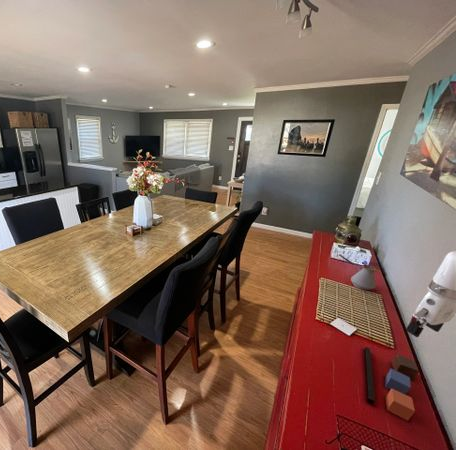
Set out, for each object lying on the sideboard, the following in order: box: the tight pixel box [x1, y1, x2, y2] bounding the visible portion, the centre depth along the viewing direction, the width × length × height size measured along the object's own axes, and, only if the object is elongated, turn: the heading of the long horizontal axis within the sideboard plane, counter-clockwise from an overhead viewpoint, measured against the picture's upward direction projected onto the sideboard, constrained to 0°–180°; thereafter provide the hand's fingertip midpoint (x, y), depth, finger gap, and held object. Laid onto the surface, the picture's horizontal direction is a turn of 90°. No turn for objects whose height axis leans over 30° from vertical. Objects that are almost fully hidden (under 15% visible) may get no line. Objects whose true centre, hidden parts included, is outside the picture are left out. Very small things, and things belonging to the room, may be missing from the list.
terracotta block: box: [385, 388, 416, 422], centre depth 78 cm, size 5×5×5 cm
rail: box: [363, 346, 375, 406], centre depth 89 cm, size 2×26×2 cm, turn 143°
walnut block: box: [390, 353, 420, 381], centre depth 90 cm, size 5×5×5 cm
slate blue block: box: [384, 368, 411, 395], centre depth 85 cm, size 5×5×5 cm
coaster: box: [329, 317, 358, 336], centre depth 111 cm, size 8×8×1 cm
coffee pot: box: [337, 253, 378, 291], centre depth 142 cm, size 21×12×15 cm, turn 42°
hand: (421, 331), depth 81 cm, fingers open, 9 cm apart
